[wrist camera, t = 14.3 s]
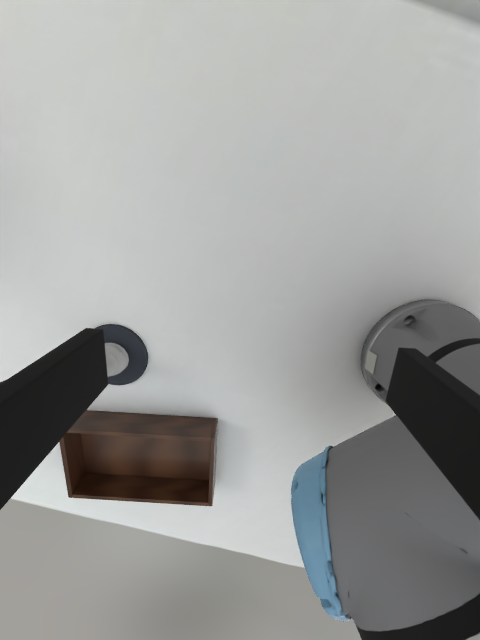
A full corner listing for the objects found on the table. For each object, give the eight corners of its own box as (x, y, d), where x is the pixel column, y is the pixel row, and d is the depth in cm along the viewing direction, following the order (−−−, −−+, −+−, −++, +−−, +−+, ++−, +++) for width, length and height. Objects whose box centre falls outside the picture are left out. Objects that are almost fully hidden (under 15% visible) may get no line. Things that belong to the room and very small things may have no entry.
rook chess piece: (113, 376, 41) (83, 411, 33) (90, 353, 40) (54, 383, 32) (136, 359, 40) (111, 391, 33) (114, 334, 39) (82, 361, 31)
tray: (217, 418, 43) (214, 438, 39) (215, 482, 47) (212, 506, 43) (74, 409, 43) (57, 428, 39) (83, 474, 47) (68, 497, 43)
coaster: (152, 332, 39) (151, 333, 39) (143, 389, 42) (142, 391, 42) (85, 317, 39) (83, 318, 38) (80, 376, 42) (79, 377, 41)
